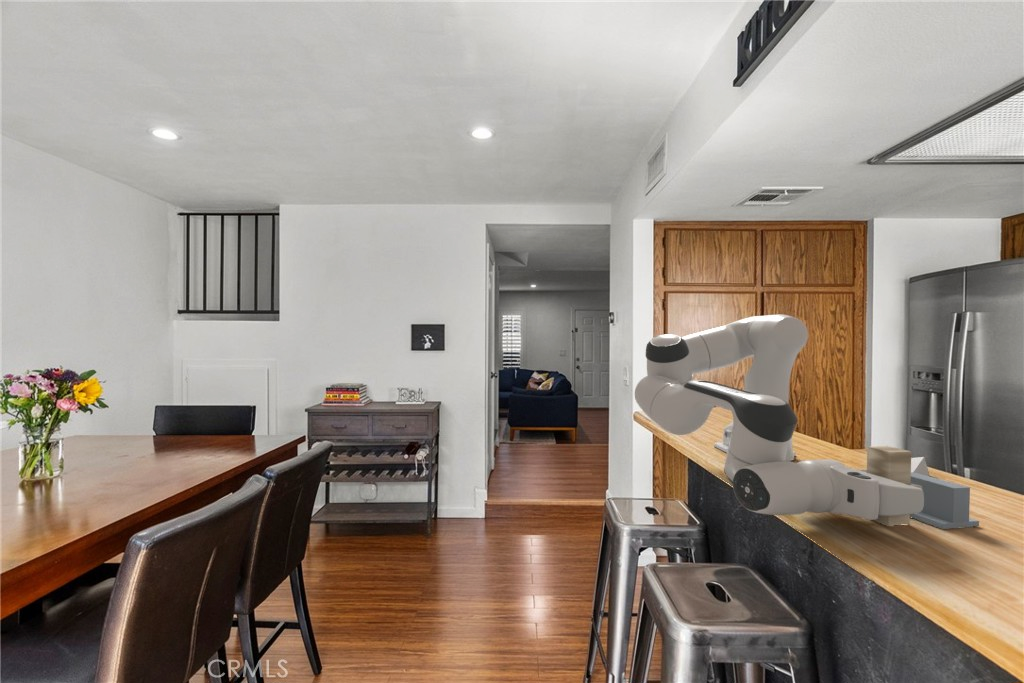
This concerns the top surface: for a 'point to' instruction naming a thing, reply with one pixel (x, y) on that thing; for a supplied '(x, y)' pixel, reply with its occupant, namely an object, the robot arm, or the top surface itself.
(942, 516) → the ridge block
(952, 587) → the top surface
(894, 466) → the ash post
